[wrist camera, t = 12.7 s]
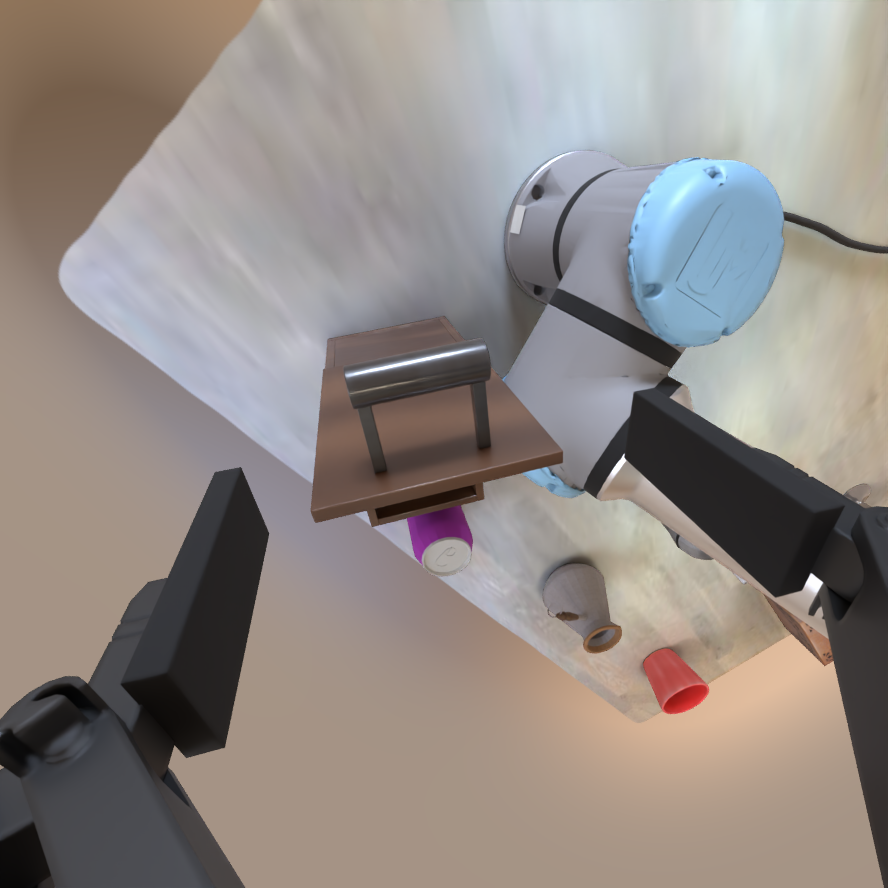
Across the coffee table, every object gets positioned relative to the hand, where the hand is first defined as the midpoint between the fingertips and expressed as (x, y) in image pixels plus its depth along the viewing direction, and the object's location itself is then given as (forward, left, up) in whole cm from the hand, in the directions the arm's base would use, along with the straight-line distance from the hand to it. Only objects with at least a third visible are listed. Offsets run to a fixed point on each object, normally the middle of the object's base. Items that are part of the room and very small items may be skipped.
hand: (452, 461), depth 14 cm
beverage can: (-1, +31, -37) cm, 49 cm away
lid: (0, +6, -16) cm, 17 cm away
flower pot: (-46, +93, -37) cm, 110 cm away
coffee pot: (-20, +52, -37) cm, 67 cm away
